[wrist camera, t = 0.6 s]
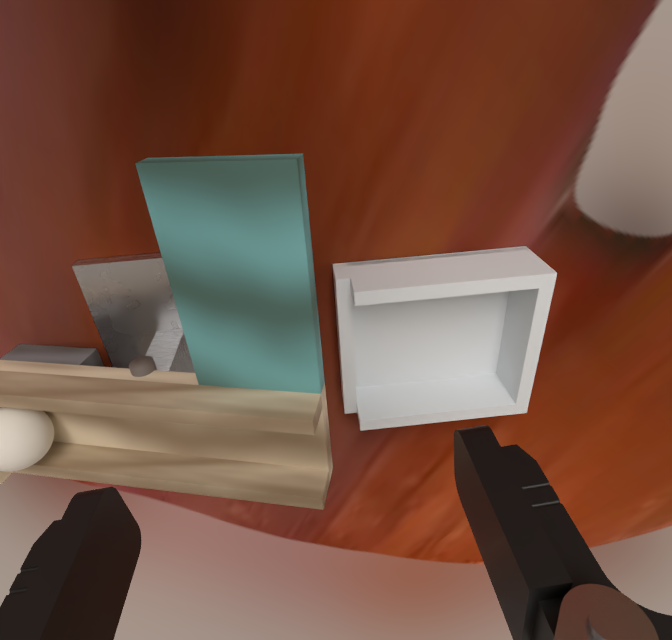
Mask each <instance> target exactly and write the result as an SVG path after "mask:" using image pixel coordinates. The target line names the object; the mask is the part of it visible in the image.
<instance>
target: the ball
mask: <svg viewBox="0 0 672 640" xmlns="http://www.w3.org/2000/svg"><path fill="white" fill-rule="evenodd" d="M53 438H54V427H53V424H52V421H51V419H50V418H49V416H48V415H47V414H46V413H45V412H44V411H40V410H29V409H18V408H7V407H1V408H0V471H4V472H11V471H18V470H22V469H25V468H28V467H30V466H32V465H33V464H35V463H37V462H38V461H39V460H41V459H42V458H43V457H44V456H45V455H46V453H47V452H48V450H49V449H50V447H51V445H52V442H53Z"/></svg>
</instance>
